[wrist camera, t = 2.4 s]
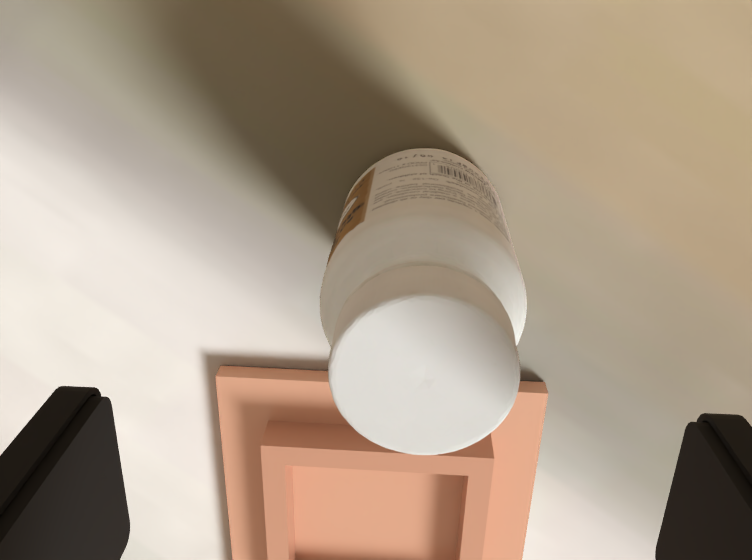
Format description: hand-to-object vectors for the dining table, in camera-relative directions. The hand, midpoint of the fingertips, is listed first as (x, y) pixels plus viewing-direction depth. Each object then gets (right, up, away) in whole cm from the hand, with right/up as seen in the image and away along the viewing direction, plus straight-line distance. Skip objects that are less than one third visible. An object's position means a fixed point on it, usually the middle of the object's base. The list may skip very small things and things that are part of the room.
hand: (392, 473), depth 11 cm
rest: (0, -4, +12) cm, 13 cm away
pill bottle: (+1, +5, +8) cm, 9 cm away
